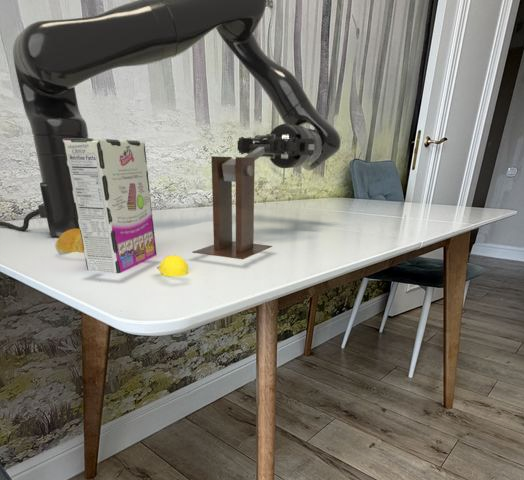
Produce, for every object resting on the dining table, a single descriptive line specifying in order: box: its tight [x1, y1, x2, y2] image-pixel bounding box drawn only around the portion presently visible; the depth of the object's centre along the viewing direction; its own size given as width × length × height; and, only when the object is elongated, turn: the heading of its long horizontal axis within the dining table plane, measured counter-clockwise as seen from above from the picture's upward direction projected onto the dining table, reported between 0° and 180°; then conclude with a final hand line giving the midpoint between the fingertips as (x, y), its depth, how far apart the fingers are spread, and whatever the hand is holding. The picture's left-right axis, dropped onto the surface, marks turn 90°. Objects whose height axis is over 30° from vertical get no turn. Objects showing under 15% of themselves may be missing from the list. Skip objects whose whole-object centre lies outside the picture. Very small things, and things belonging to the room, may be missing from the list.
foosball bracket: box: [191, 156, 273, 260], centre depth 62 cm, size 11×9×15 cm
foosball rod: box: [222, 144, 271, 183], centre depth 63 cm, size 13×5×2 cm, turn 155°
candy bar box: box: [63, 137, 157, 274], centre depth 52 cm, size 11×5×16 cm, turn 168°
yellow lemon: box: [156, 254, 189, 277], centre depth 51 cm, size 3×6×4 cm, turn 44°
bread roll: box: [54, 229, 84, 255], centre depth 63 cm, size 8×9×4 cm
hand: (256, 145), depth 64 cm, fingers closed on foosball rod, 5 cm apart
